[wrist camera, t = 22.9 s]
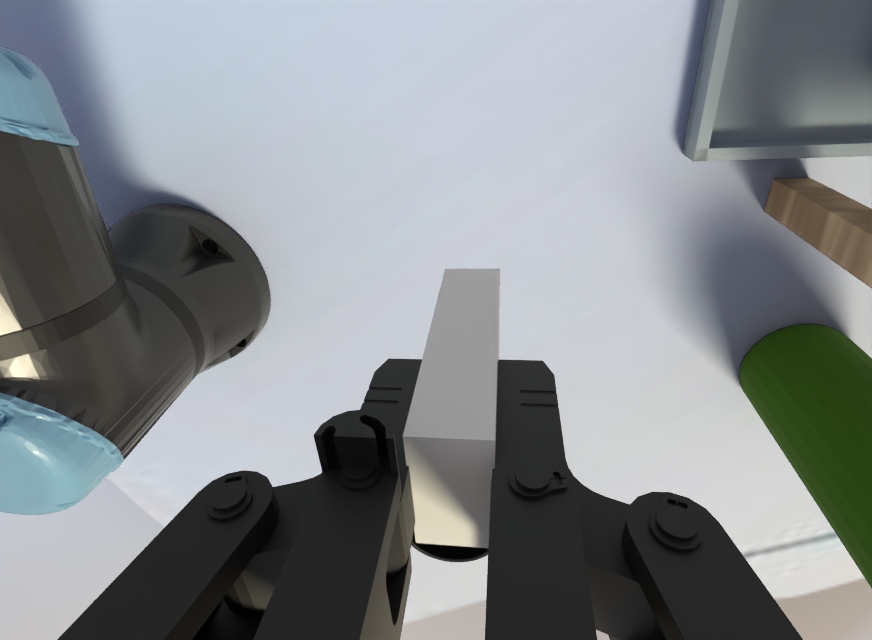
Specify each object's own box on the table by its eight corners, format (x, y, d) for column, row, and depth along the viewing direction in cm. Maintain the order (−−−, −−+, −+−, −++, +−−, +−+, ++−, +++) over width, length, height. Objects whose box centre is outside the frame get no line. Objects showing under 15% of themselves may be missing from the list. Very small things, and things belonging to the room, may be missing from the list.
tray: (682, 153, 36) (693, 161, 34) (724, -75, 29) (741, -83, 27) (966, 144, 33) (997, 151, 31) (1080, -107, 27) (1130, -119, 25)
